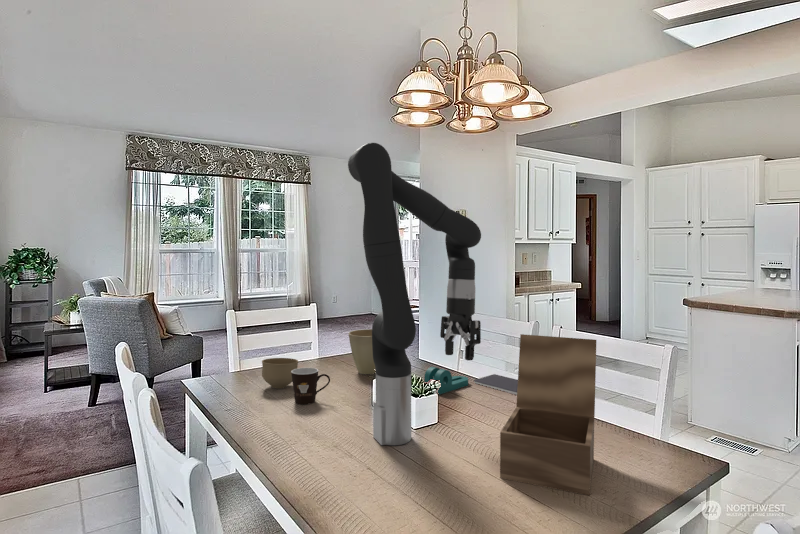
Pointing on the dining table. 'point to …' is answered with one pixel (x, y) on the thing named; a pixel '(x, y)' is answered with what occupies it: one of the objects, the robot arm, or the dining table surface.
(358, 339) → the plant pot
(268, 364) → the bowl
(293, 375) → the coffee mug
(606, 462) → the dining table surface
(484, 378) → the notebook
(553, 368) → the box lid
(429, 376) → the bracket
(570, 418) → the wooden box
